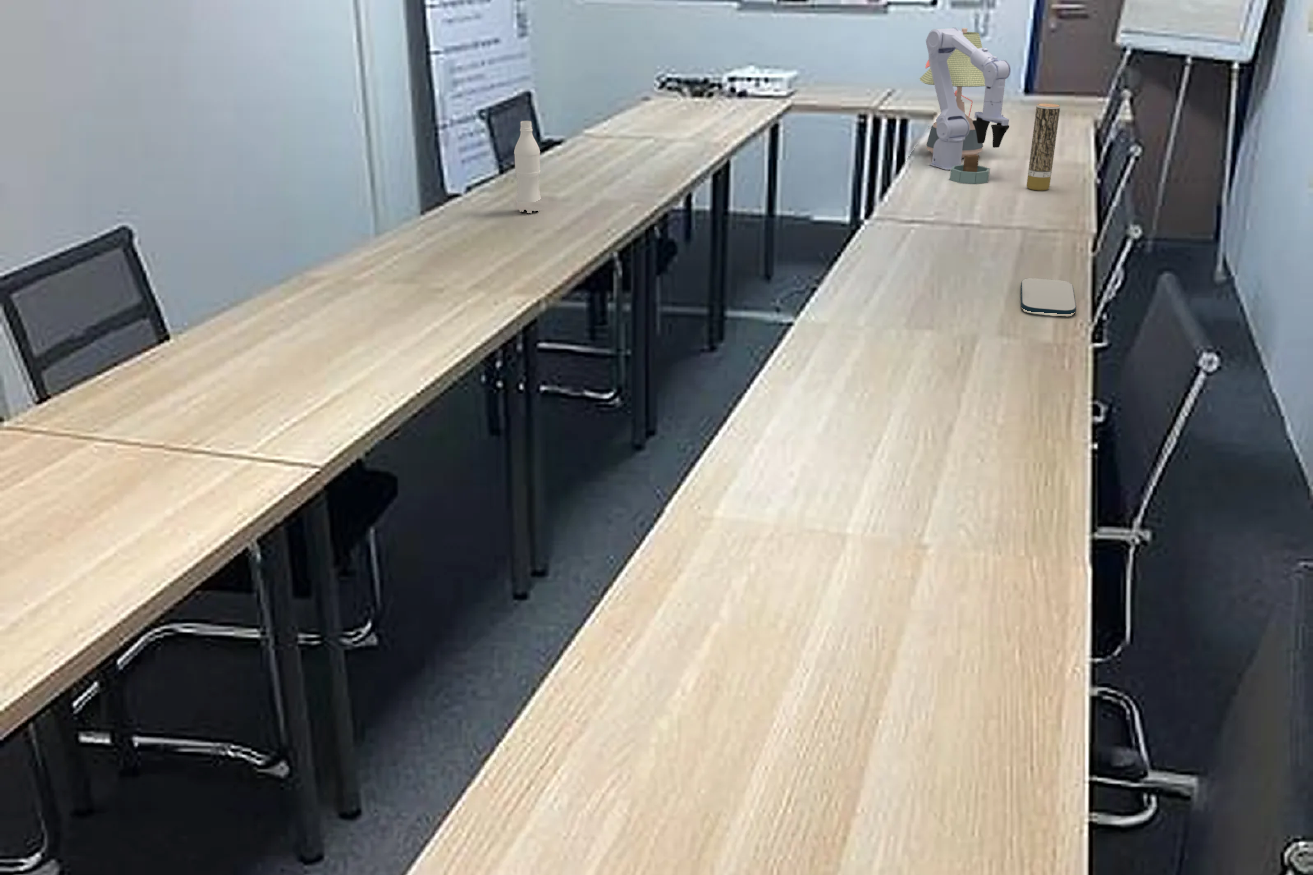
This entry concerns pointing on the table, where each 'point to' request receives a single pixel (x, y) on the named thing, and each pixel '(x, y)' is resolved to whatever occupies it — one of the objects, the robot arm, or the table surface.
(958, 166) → the bowl
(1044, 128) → the bark patterned cylinder
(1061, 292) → the external hard drive
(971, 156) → the wooden block
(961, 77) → the desk lamp
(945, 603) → the table surface
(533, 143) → the water bottle
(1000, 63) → the robot arm
